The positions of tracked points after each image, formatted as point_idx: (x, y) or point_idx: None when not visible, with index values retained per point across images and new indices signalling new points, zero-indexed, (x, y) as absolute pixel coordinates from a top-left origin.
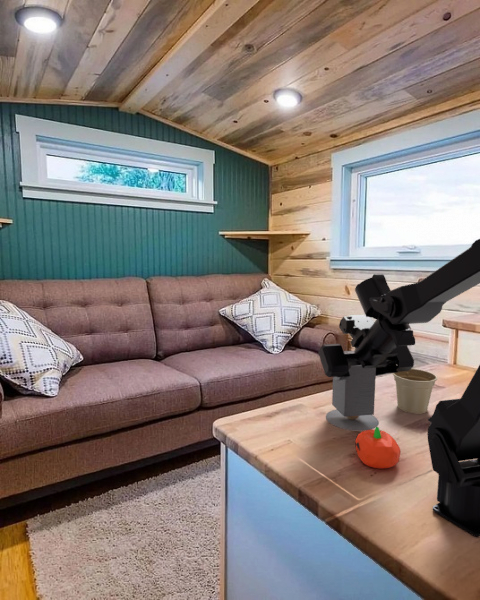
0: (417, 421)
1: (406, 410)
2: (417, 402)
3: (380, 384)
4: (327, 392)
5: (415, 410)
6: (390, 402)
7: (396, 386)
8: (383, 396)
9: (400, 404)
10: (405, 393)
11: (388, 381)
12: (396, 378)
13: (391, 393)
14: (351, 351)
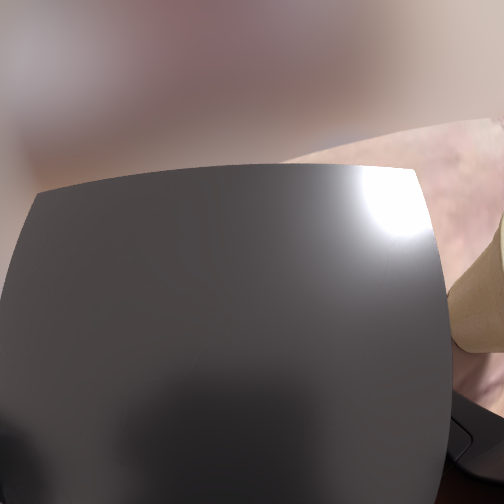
0: (455, 390)
1: (458, 340)
2: (494, 352)
3: (434, 148)
4: (283, 163)
5: (475, 351)
6: (440, 253)
7: (481, 278)
8: (432, 211)
9: (456, 318)
10: (487, 331)
11: (451, 140)
12: (500, 281)
13: (452, 198)
14: (214, 195)
